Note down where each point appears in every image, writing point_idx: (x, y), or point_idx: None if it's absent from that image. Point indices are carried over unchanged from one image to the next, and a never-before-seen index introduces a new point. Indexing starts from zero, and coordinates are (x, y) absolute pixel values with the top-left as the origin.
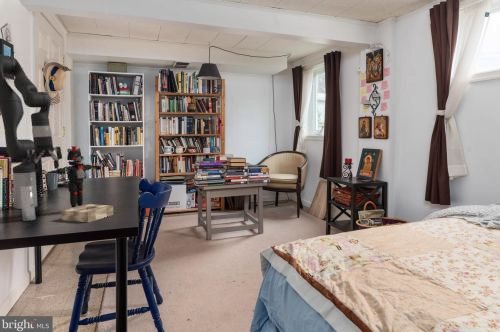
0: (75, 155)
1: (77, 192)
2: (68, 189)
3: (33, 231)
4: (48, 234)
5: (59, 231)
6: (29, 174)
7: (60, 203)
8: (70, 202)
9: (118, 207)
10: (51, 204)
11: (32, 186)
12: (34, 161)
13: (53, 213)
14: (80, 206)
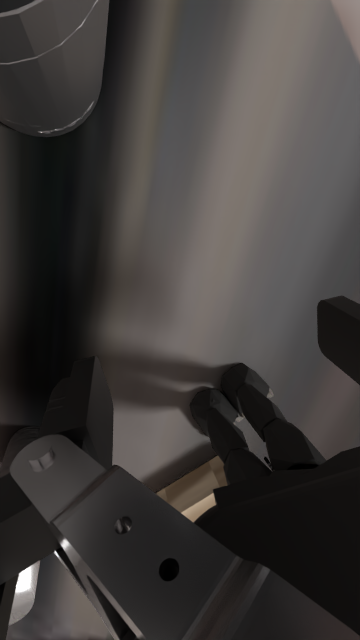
0: None
1: (269, 421)
2: (227, 478)
3: (37, 601)
4: (70, 636)
5: (99, 620)
6: (13, 32)
7: (234, 97)
8: (208, 432)
9: (345, 409)
10: (185, 87)
11: (28, 609)
12: (50, 542)
13: (135, 379)
14: (214, 501)
